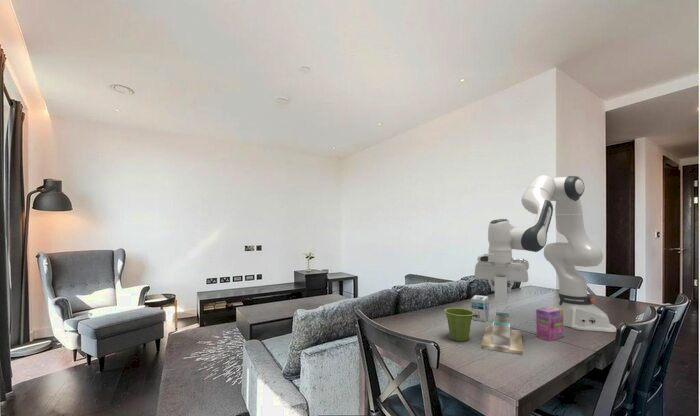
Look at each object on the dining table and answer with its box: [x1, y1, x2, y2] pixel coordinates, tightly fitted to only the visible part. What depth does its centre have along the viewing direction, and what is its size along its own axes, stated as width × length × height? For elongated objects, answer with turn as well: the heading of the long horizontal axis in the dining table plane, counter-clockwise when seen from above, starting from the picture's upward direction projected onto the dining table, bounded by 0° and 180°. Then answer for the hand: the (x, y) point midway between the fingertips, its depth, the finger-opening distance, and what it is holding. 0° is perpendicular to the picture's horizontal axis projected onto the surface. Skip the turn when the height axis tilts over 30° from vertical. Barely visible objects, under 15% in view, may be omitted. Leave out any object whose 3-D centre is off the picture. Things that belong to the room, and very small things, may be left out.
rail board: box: [480, 311, 524, 356], centre depth 130 cm, size 14×26×9 cm, turn 153°
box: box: [535, 305, 565, 342], centre depth 134 cm, size 10×6×12 cm, turn 118°
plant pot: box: [444, 307, 474, 342], centre depth 132 cm, size 12×12×11 cm
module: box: [493, 276, 509, 303], centre depth 131 cm, size 4×7×10 cm, turn 153°
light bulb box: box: [470, 294, 490, 323], centre depth 162 cm, size 11×7×11 cm, turn 147°
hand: (501, 291), depth 131 cm, fingers closed on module, 4 cm apart
